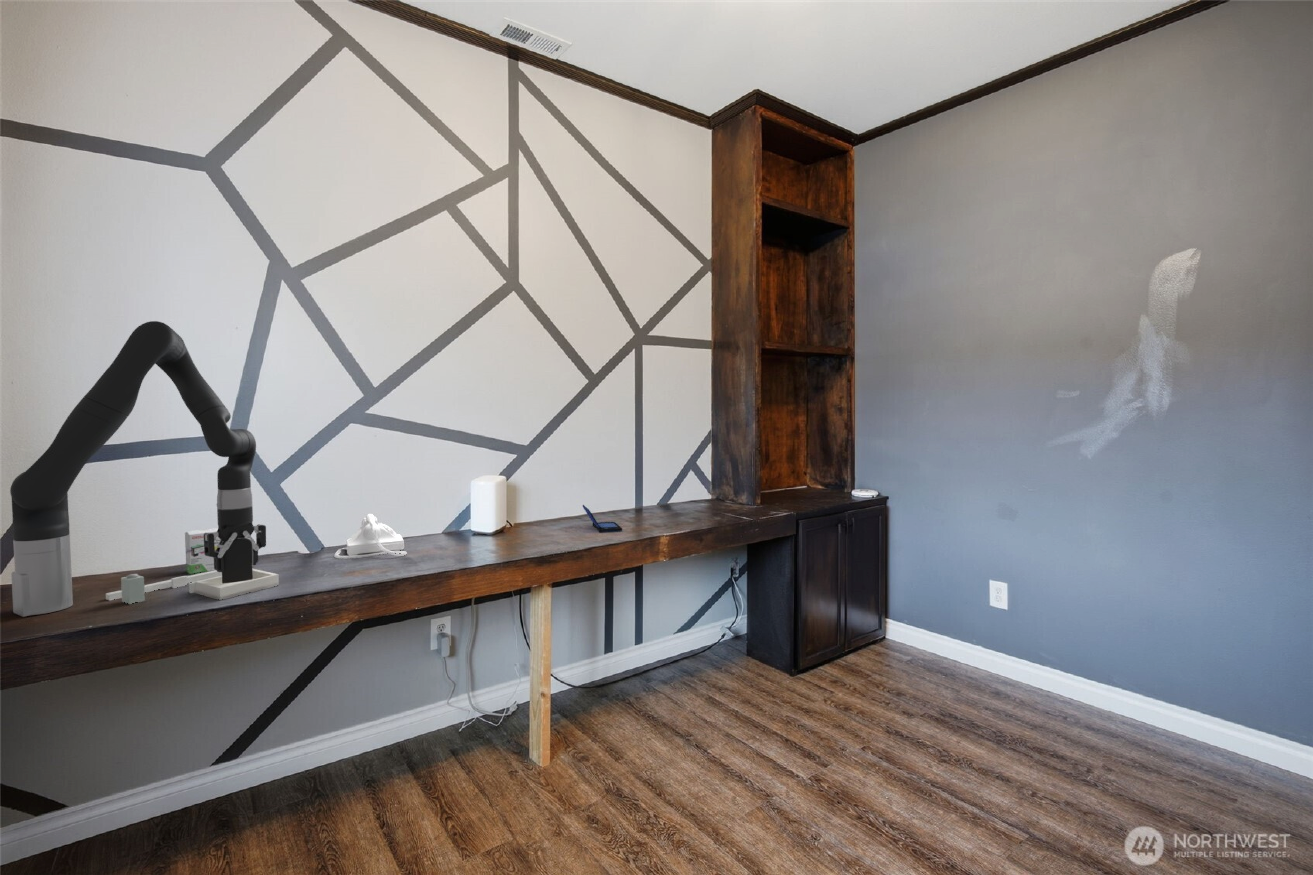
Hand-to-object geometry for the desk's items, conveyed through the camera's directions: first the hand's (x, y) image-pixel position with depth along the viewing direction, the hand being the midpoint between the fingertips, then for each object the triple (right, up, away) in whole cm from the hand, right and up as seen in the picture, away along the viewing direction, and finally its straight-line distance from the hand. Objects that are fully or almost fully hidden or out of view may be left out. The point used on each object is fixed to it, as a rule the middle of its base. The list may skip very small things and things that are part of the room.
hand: (236, 568), depth 156 cm
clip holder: (-15, -6, +1) cm, 16 cm away
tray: (0, -6, 0) cm, 6 cm away
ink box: (-23, -5, +19) cm, 30 cm away
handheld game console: (+88, -2, +80) cm, 119 cm away
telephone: (+15, -4, +41) cm, 44 cm away
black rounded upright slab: (0, -4, 0) cm, 4 cm away
